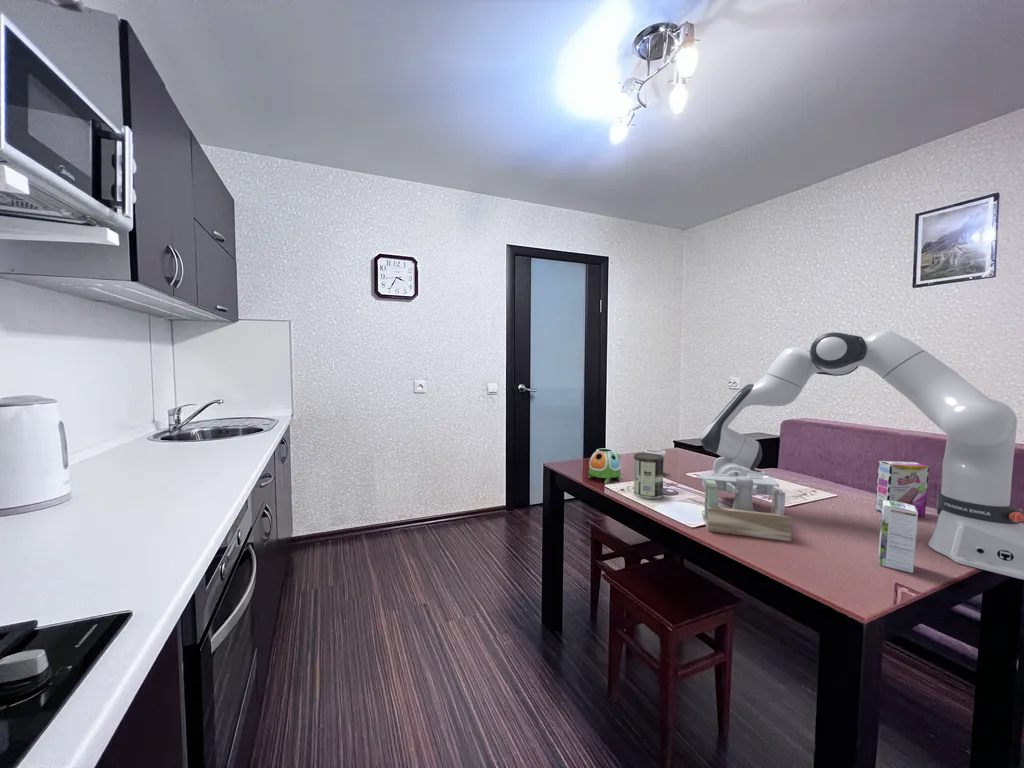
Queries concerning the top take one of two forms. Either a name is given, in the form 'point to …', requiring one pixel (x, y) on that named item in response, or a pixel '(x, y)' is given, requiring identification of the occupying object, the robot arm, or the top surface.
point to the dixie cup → (656, 452)
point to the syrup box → (898, 535)
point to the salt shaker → (743, 494)
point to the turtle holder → (605, 464)
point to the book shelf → (747, 517)
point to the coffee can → (648, 475)
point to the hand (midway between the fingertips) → (744, 492)
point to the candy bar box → (902, 484)
